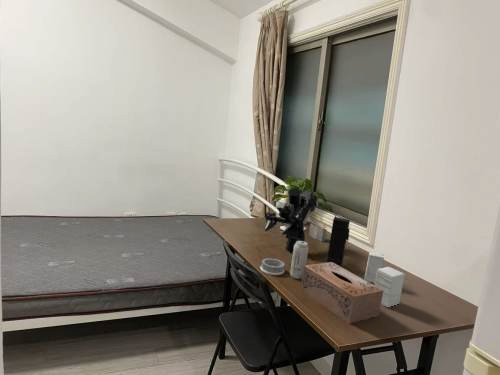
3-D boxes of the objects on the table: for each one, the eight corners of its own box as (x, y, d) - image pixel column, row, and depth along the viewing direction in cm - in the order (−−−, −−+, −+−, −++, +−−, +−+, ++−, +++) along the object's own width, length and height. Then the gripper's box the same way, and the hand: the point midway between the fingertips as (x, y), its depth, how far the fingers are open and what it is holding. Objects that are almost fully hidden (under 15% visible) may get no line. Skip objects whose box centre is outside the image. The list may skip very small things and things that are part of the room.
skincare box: (364, 281, 156) (369, 254, 154) (364, 277, 160) (368, 251, 158) (379, 284, 154) (384, 257, 152) (378, 280, 159) (383, 254, 156)
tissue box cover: (378, 316, 127) (383, 290, 125) (348, 324, 119) (353, 296, 118) (328, 284, 148) (331, 261, 147) (300, 289, 141) (304, 265, 139)
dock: (278, 265, 163) (279, 258, 162) (288, 274, 153) (289, 267, 153) (257, 265, 160) (257, 258, 159) (265, 275, 150) (266, 267, 149)
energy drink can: (286, 275, 152) (291, 241, 150) (295, 272, 157) (300, 239, 154) (298, 280, 148) (303, 246, 146) (306, 277, 153) (312, 243, 150)
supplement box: (383, 296, 143) (388, 266, 141) (399, 305, 137) (405, 273, 135) (370, 299, 139) (376, 268, 137) (387, 308, 133) (393, 276, 131)
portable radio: (344, 265, 172) (353, 214, 167) (342, 269, 166) (351, 217, 162) (328, 261, 175) (336, 211, 171) (325, 265, 170) (333, 213, 165)
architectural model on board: (325, 242, 207) (327, 225, 205) (321, 242, 205) (323, 225, 203) (312, 235, 216) (314, 220, 214) (308, 236, 215) (310, 220, 213)
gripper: (271, 195, 172) (252, 214, 162) (306, 200, 161) (288, 220, 151) (276, 215, 177) (258, 233, 167) (310, 221, 166) (293, 241, 156)
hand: (273, 232), depth 160 cm, fingers open, 9 cm apart
